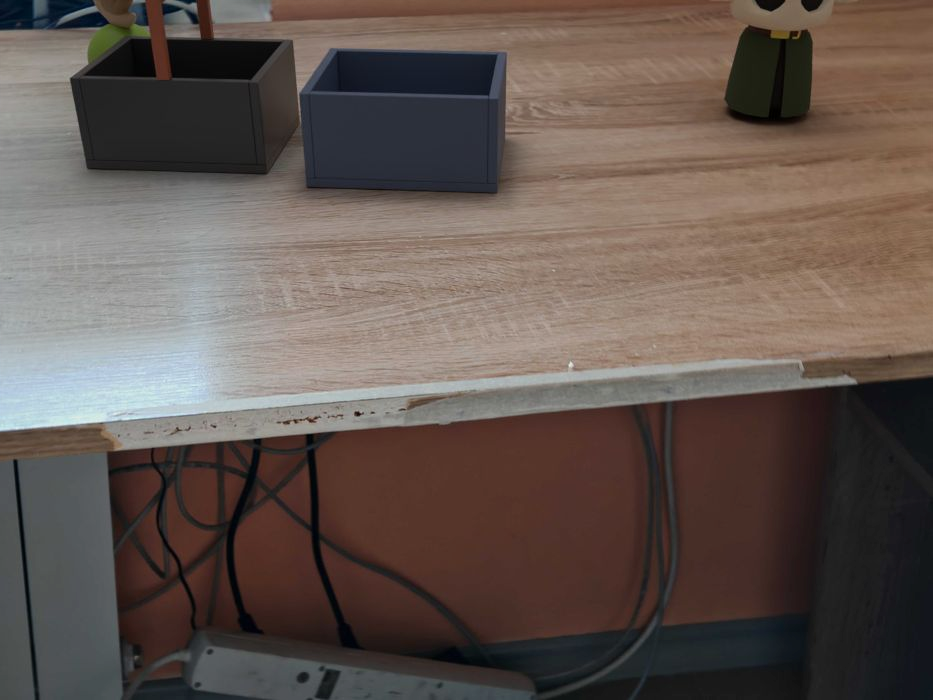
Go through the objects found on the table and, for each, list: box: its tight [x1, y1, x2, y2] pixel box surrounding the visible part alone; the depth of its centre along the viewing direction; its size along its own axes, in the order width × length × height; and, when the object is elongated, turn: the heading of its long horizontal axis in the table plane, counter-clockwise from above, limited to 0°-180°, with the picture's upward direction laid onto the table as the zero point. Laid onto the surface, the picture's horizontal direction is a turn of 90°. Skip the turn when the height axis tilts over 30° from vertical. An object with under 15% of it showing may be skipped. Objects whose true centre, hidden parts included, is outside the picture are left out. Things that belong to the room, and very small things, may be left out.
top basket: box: [69, 0, 301, 175], centre depth 72 cm, size 12×10×12 cm
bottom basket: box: [298, 47, 508, 194], centre depth 70 cm, size 12×10×6 cm
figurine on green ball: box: [86, 0, 151, 65], centre depth 82 cm, size 5×6×12 cm
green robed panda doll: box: [709, 0, 859, 119], centre depth 77 cm, size 11×7×13 cm, turn 87°
